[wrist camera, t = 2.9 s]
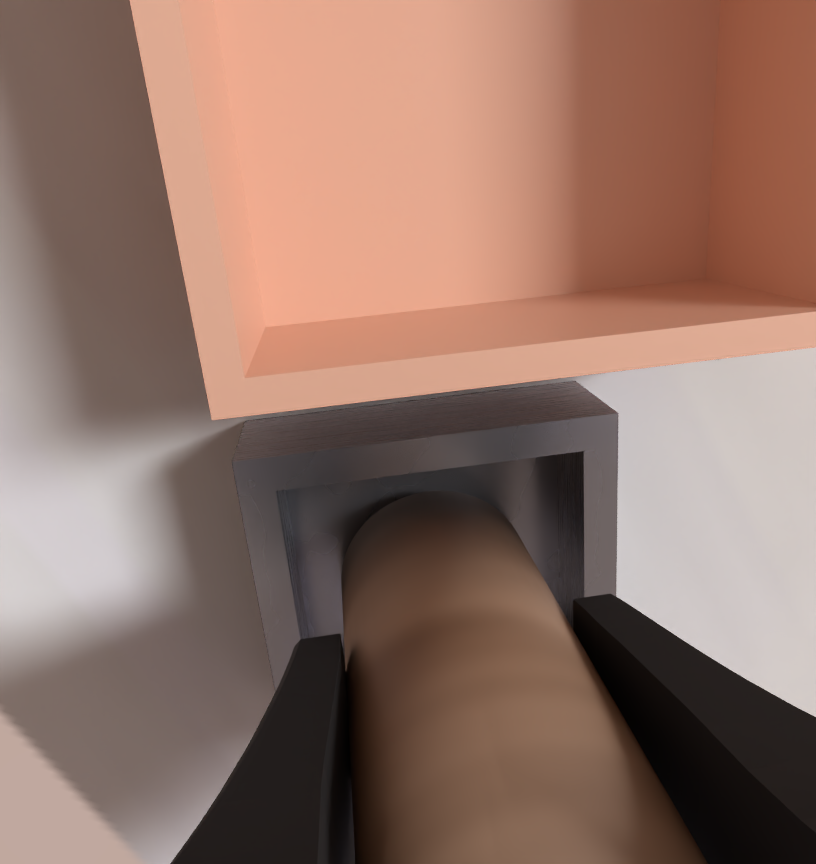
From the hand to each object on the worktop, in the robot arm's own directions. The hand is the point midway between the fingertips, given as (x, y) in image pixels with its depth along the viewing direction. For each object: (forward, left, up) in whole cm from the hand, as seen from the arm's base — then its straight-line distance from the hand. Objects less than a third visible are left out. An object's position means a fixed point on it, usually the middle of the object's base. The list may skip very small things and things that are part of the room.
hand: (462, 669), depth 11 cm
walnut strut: (0, 0, -3) cm, 3 cm away
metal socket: (0, 0, -4) cm, 4 cm away
